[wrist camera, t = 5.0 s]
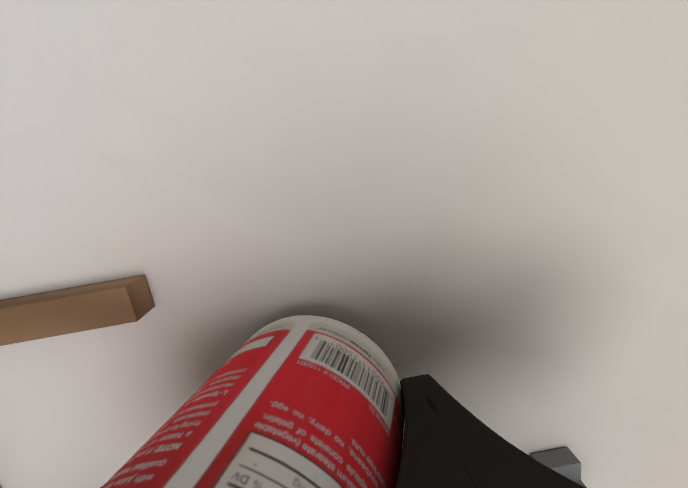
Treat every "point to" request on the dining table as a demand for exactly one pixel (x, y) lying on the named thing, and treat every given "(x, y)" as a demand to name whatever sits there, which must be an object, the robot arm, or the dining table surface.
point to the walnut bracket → (74, 309)
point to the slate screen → (561, 463)
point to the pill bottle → (283, 417)
